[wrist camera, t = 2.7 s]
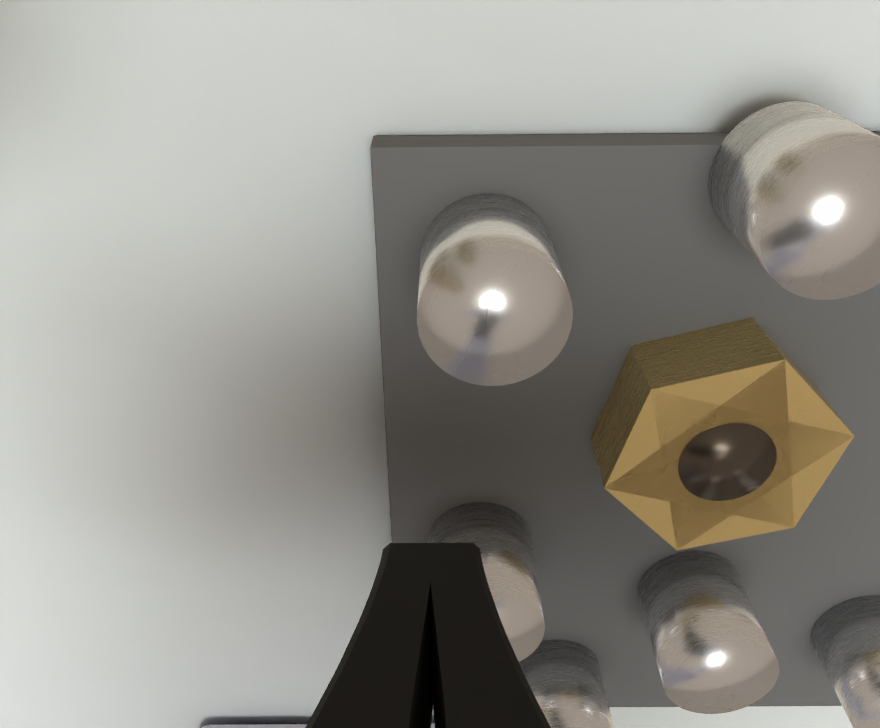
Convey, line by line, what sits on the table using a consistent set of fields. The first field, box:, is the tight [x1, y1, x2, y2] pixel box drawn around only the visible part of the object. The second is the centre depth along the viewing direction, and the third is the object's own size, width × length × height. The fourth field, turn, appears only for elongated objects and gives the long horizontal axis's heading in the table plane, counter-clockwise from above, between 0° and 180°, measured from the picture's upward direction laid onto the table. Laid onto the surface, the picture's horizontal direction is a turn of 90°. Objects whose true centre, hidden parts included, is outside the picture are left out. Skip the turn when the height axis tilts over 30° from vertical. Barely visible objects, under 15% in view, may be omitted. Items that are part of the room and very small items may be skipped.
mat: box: [370, 131, 880, 707], centre depth 17 cm, size 15×13×1 cm
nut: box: [590, 317, 854, 550], centre depth 15 cm, size 4×5×2 cm
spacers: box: [417, 101, 880, 728], centre depth 15 cm, size 15×12×2 cm
